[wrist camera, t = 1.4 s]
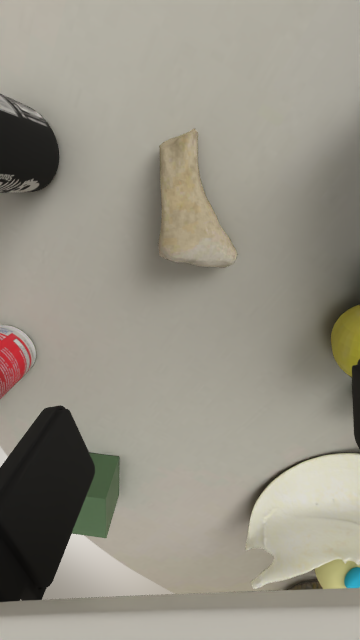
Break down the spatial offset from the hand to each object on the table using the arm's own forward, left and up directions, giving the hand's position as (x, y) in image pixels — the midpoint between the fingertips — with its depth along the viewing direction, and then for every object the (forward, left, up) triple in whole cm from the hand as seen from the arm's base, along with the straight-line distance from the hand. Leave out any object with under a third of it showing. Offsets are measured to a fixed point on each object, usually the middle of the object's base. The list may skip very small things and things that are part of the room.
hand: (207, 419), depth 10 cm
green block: (-12, -29, -21) cm, 38 cm away
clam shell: (+18, -28, -21) cm, 39 cm away
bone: (-2, +6, -21) cm, 22 cm away
